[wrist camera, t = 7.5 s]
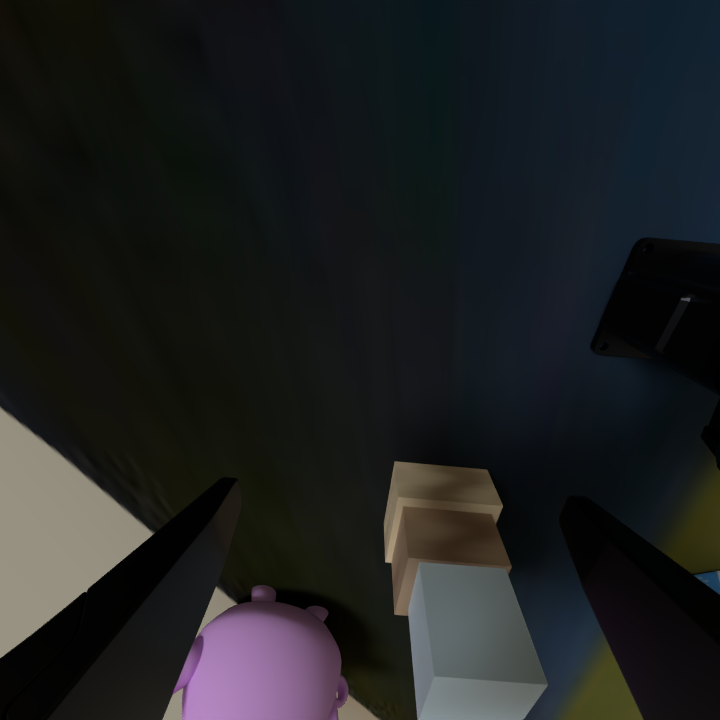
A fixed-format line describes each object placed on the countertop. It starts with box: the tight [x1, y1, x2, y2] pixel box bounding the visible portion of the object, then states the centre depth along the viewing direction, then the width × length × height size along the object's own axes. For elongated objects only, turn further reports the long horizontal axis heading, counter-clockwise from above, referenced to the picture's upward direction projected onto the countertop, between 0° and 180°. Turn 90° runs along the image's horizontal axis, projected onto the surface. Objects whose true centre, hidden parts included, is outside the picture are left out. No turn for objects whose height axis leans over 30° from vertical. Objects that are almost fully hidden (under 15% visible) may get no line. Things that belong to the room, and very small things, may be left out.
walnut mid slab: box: [392, 506, 512, 616], centre depth 21 cm, size 6×6×4 cm
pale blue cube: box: [408, 562, 548, 720], centre depth 17 cm, size 5×5×5 cm
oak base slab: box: [384, 462, 503, 563], centre depth 24 cm, size 7×7×4 cm
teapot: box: [172, 585, 348, 720], centre depth 28 cm, size 20×14×12 cm
